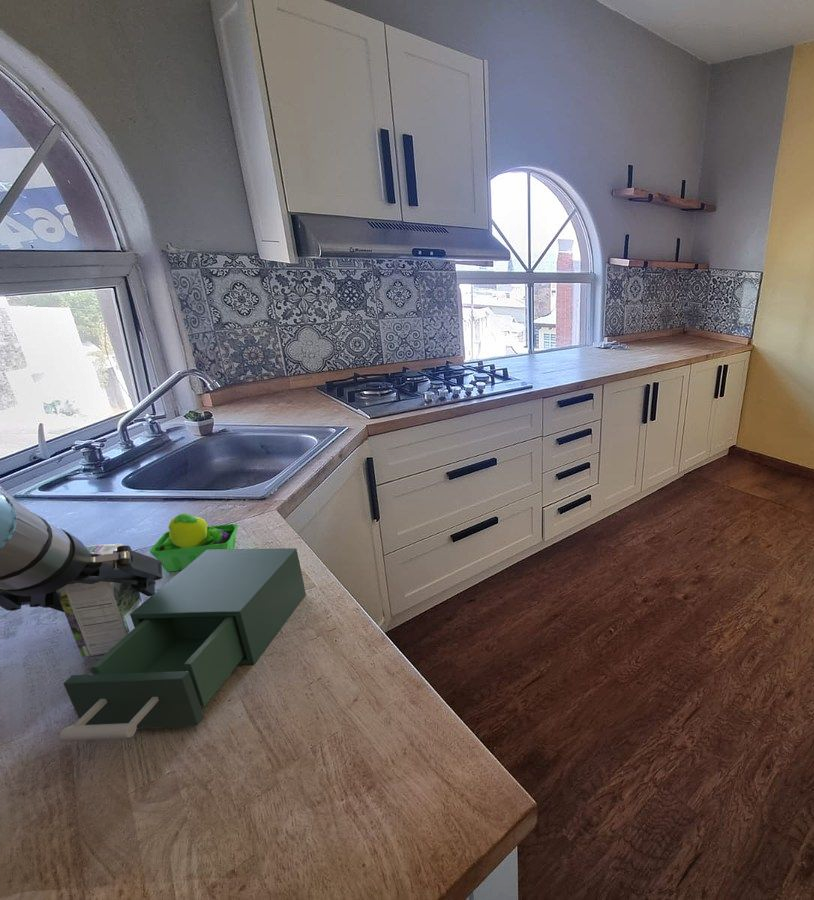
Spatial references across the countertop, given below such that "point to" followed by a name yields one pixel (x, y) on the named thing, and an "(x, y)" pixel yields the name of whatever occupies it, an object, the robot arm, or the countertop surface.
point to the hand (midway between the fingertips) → (113, 595)
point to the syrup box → (99, 610)
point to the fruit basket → (191, 541)
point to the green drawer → (154, 677)
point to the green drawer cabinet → (234, 593)
